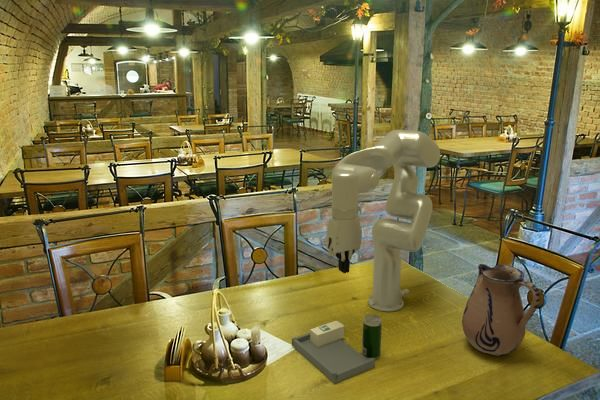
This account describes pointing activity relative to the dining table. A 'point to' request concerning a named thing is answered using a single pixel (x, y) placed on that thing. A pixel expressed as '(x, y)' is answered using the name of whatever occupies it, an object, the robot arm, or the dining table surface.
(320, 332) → the block
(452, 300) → the dining table surface
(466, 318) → the ceramic pitcher
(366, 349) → the beer can
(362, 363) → the slate tray
